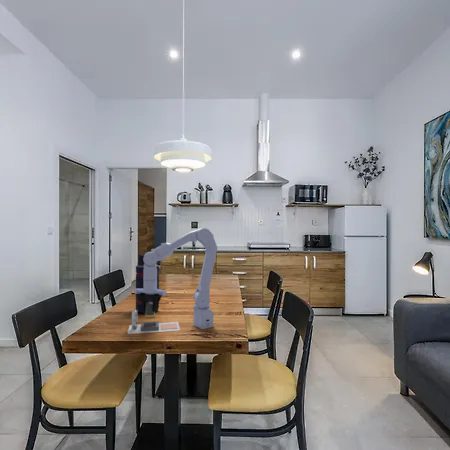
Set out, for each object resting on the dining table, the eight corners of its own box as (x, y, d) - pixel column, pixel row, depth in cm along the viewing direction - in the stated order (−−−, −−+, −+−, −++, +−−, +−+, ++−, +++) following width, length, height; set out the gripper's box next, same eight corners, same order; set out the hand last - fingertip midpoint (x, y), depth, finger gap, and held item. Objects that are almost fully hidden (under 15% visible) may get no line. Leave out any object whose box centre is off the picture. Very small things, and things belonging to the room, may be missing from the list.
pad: (176, 323, 144) (176, 323, 144) (177, 328, 137) (177, 328, 137) (160, 324, 142) (160, 324, 142) (160, 329, 135) (160, 329, 135)
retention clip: (131, 327, 137) (131, 310, 137) (137, 327, 138) (137, 309, 138) (131, 337, 124) (131, 318, 124) (138, 337, 125) (138, 318, 125)
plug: (157, 317, 138) (157, 303, 138) (148, 319, 135) (148, 304, 135) (152, 315, 141) (152, 301, 141) (143, 316, 138) (143, 303, 138)
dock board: (178, 323, 146) (178, 318, 146) (180, 332, 135) (180, 326, 135) (129, 326, 142) (129, 321, 142) (127, 335, 130) (127, 330, 130)
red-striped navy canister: (163, 311, 167) (163, 254, 168) (144, 315, 159) (144, 255, 159) (148, 306, 177) (148, 252, 177) (129, 310, 168) (129, 254, 168)
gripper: (169, 279, 139) (169, 309, 139) (140, 277, 144) (140, 307, 144) (161, 281, 133) (161, 314, 133) (131, 279, 137) (131, 311, 137)
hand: (150, 311), depth 138 cm, fingers closed on plug, 4 cm apart
